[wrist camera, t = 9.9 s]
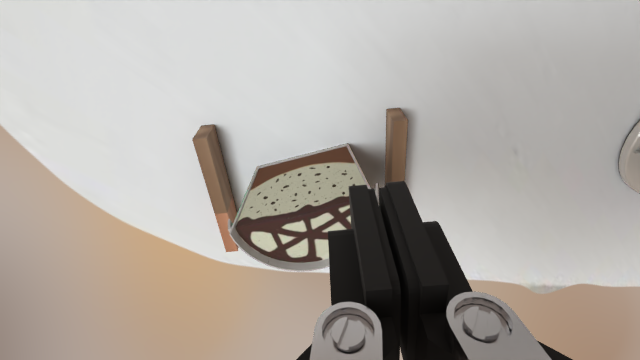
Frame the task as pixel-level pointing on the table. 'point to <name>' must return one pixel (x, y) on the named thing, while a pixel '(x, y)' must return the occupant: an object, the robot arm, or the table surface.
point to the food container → (297, 208)
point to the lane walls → (220, 185)
